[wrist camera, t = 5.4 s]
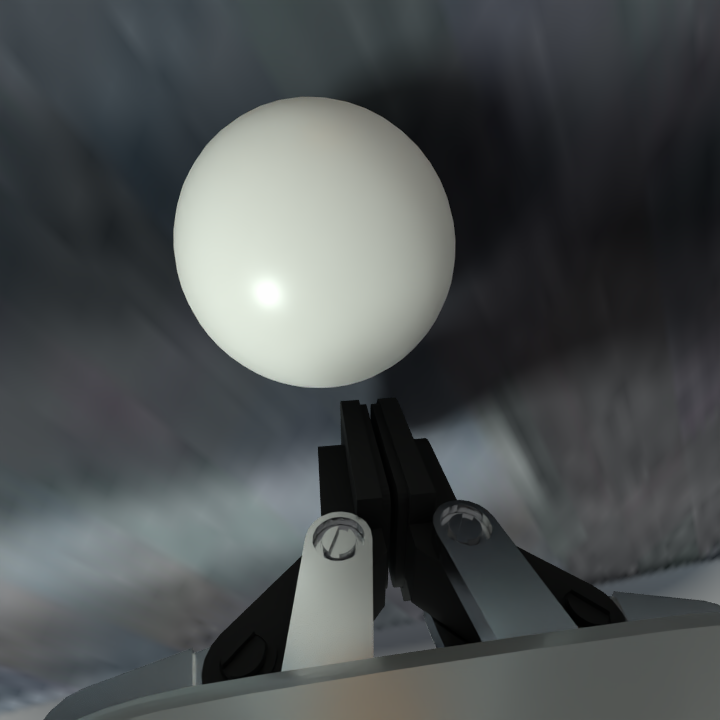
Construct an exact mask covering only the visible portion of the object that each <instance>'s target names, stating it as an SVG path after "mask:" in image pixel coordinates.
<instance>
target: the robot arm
mask: <svg viewBox="0 0 720 720" xmlns="http://www.w3.org/2000/svg"><path fill="white" fill-rule="evenodd" d="M340 411H341V445H334V446H322V447H318V458H319V480H320V501H321V517H320V518H319V519H317V520H316V521H314V523H313V524H312V525H311V526H310V527H309V529H308V532H307V534H306V537H305V542H304V548H303V554H302V556H301V557H300V558H299V559H298V560H297V561H296V562H295V563H294V564H293V565H292V566H291V567H290V568H289V569H288V570H287V571H286V572H285V573H283V574H282V575H281V576H280V577H279V578H278V579H277V580H276V581H275V582H274V583H273V584H272V585H271V586H270V587H269V588H268V589H267V590H266V591H265V592H264V593H263V594H262V595H261V596H260V597H259V598H258V599H257V600H256V601H255V602H253V603H252V604H251V605H250V606H249V607H248V608H247V609H246V610H245V611H244V612H243V613H242V614H241V615H240V616H239V617H238V618H237V619H236V620H235V621H234V622H233V623H232V624H231V625H230V626H229V627H228V628H227V629H226V630H224V631H223V632H222V633H221V634H220V636H219V637H218V638H217V639H216V640H215V642H214V643H213V644H212V645H211V647H210V648H207V649H204V650H202V651H199V652H196V653H194V651H193V648H191V649H188V650H186V651H183V652H180V653H178V654H175V655H172V656H169V657H167V658H164V659H161V660H159V661H156V662H153V663H150V664H148V665H145V666H142V667H140V668H137V669H134V670H132V671H129V672H126V673H123V674H121V675H118V676H115V677H113V678H110V679H107V680H104V681H102V682H99V683H96V684H94V685H91V686H88V687H86V688H83V689H81V690H79V691H77V692H75V693H74V694H72V695H70V696H68V697H66V698H65V699H64V700H63V701H62V702H60V703H59V704H58V705H57V706H56V707H55V708H53V709H52V710H51V711H50V712H49V713H48V715H47V716H46V717H45V719H44V720H720V605H718V604H715V603H711V602H707V601H700V600H691V599H682V598H672V597H663V596H653V595H644V594H634V593H624V592H615V591H614V592H613V594H612V597H610V596H607V595H606V594H604V592H602V591H600V590H599V589H597V588H596V587H594V586H593V585H591V584H589V583H587V582H585V581H583V580H581V579H579V578H577V577H575V576H573V575H571V574H569V573H567V572H565V571H563V570H561V569H560V568H558V567H556V566H554V565H552V564H550V563H548V562H546V561H544V560H542V559H540V558H538V557H536V556H534V555H532V554H530V553H528V552H526V551H525V550H523V549H521V548H519V547H517V546H516V545H515V544H514V543H513V541H512V540H511V539H510V538H509V536H508V535H507V534H506V532H505V531H504V530H503V528H502V527H501V526H500V524H499V523H498V522H497V520H496V519H495V518H494V517H493V516H492V515H491V514H490V513H489V512H488V511H487V510H486V509H485V508H483V507H481V506H480V505H478V504H475V503H472V502H470V501H464V500H457V499H456V497H455V495H454V493H453V491H452V489H451V487H450V485H449V483H448V480H447V478H446V476H445V474H444V472H443V470H442V468H441V466H440V464H439V462H438V459H437V457H436V455H435V453H434V451H433V449H432V447H431V445H430V443H429V441H428V439H426V438H422V439H413V436H412V434H411V432H410V429H409V427H408V424H407V422H406V420H405V417H404V415H403V413H402V410H401V408H400V405H399V403H398V401H397V399H396V398H382V399H378V400H377V404H371V419H370V417H369V413H368V409H367V406H366V404H363V405H360V403H359V400H352V401H341V402H340ZM388 567H389V572H390V576H391V581H392V585H393V587H394V588H395V587H400V588H401V592H402V596H403V600H404V601H409V600H411V602H412V603H414V604H415V605H416V606H418V607H419V608H421V609H422V610H424V618H425V622H426V625H427V627H428V630H429V632H430V634H431V637H432V639H433V641H434V644H435V646H436V649H431V650H423V651H416V652H409V653H403V654H396V655H389V656H382V657H375V658H373V621H374V620H375V618H376V617H377V616H378V614H379V613H380V611H381V610H382V609H383V607H384V606H385V589H387V586H388Z"/></svg>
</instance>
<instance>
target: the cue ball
mask: <svg viewBox="0 0 720 720" xmlns="http://www.w3.org/2000/svg"><path fill="white" fill-rule="evenodd" d="M174 252H175V259H176V266H177V272H178V276H179V279H180V283H181V286H182V289H183V292H184V294H185V297H186V299H187V301H188V304H189V305H190V307H191V309H192V311H193V312H194V314H195V316H196V318H197V319H198V321H199V323H200V324H201V326H202V327H203V328H204V330H205V331H206V332H207V334H208V335H209V336H210V337H211V338H212V340H213V341H214V342H215V343H216V344H217V345H218V346H219V347H220V348H221V349H222V350H224V351H225V352H226V353H227V354H228V355H229V356H230V357H232V358H233V359H235V360H236V361H237V362H239V363H240V364H242V365H243V366H245V367H247V368H248V369H250V370H252V371H254V372H255V373H257V374H260V375H262V376H264V377H266V378H269V379H272V380H275V381H277V382H280V383H285V384H289V385H293V386H300V387H312V388H327V387H338V386H344V385H349V384H353V383H357V382H360V381H363V380H366V379H368V378H371V377H373V376H375V375H377V374H379V373H381V372H383V371H384V370H386V369H388V368H390V367H392V366H393V365H395V364H396V363H397V362H399V361H400V360H402V359H403V358H404V357H405V356H406V355H407V354H409V353H410V352H411V351H412V350H413V349H414V348H415V347H416V346H417V345H418V343H419V342H420V341H421V340H422V339H423V338H424V336H425V335H426V334H427V333H428V332H429V330H430V328H431V327H432V325H433V324H434V322H435V321H436V319H437V317H438V315H439V313H440V311H441V308H442V306H443V304H444V302H445V300H446V297H447V294H448V291H449V288H450V285H451V281H452V275H453V269H454V262H455V232H454V222H453V218H452V214H451V210H450V206H449V202H448V198H447V196H446V193H445V191H444V188H443V186H442V183H441V181H440V179H439V177H438V175H437V174H436V172H435V170H434V168H433V166H432V165H431V163H430V162H429V160H428V159H427V158H426V156H425V155H424V154H423V153H422V151H421V150H420V149H419V147H418V146H417V145H416V144H415V143H414V142H413V141H412V140H411V139H410V138H409V137H408V136H407V135H406V134H405V133H404V132H402V131H401V130H400V129H399V128H397V127H396V126H394V125H393V124H392V123H390V122H389V121H388V120H386V119H385V118H383V117H381V116H379V115H378V114H376V113H374V112H372V111H370V110H368V109H366V108H363V107H361V106H358V105H355V104H352V103H349V102H346V101H341V100H335V99H330V98H324V97H297V98H289V99H282V100H278V101H275V102H271V103H268V104H265V105H262V106H259V107H257V108H255V109H253V110H251V111H249V112H247V113H245V114H243V115H242V116H240V117H239V118H237V119H236V120H234V121H233V122H232V123H230V124H229V125H228V126H226V127H225V128H224V129H222V130H221V131H220V132H219V133H218V134H217V135H216V136H215V137H214V138H213V139H212V140H211V141H210V142H209V143H208V144H207V145H206V147H205V148H204V149H203V151H202V152H201V154H200V155H199V157H198V158H197V159H196V161H195V163H194V164H193V166H192V168H191V170H190V172H189V174H188V176H187V178H186V180H185V182H184V184H183V187H182V190H181V194H180V197H179V200H178V204H177V210H176V217H175V224H174Z"/></svg>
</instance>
